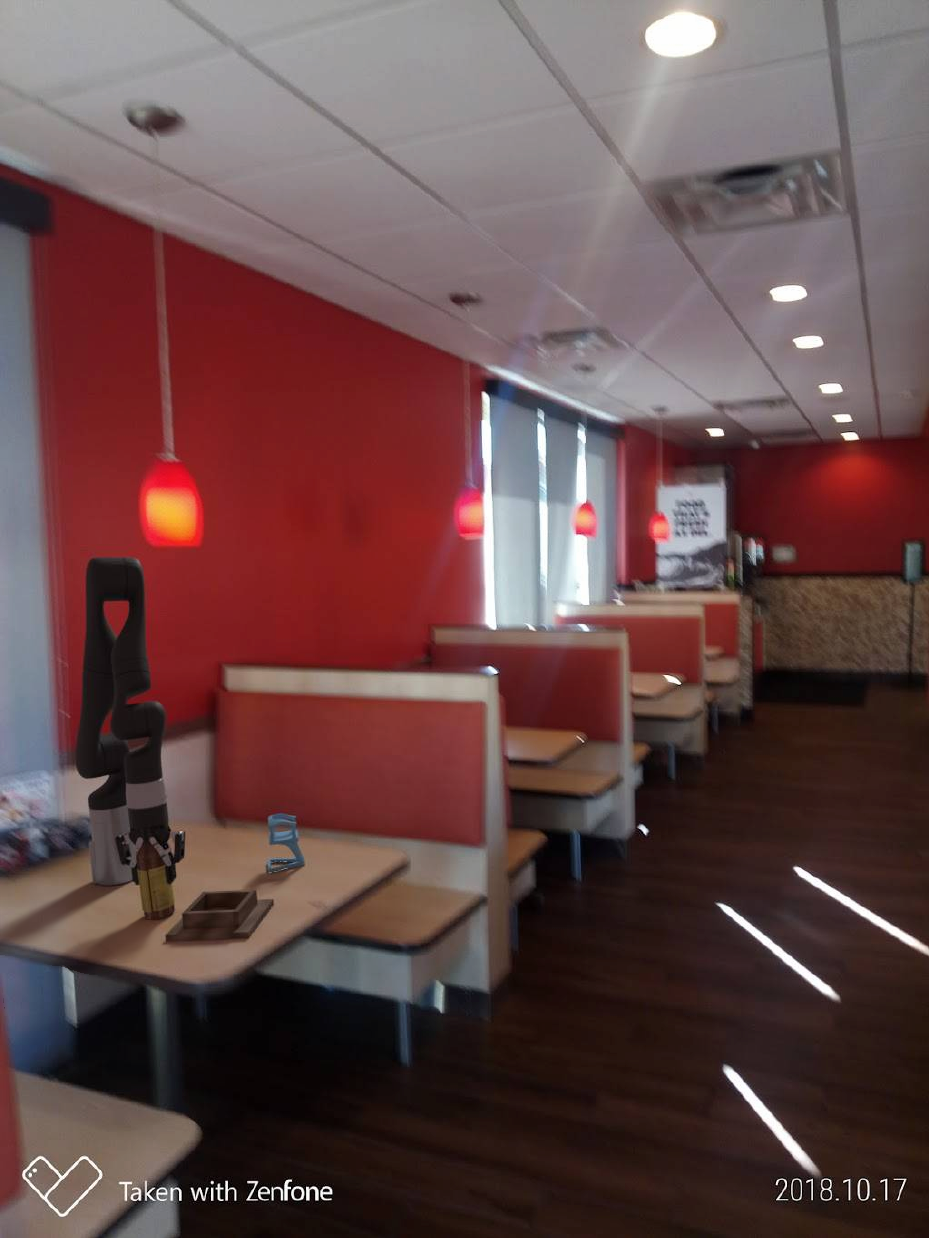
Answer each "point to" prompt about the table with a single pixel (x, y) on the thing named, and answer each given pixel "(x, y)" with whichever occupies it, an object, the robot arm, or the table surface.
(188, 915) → the bottle caddy
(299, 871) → the table surface
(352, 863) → the table surface
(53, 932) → the table surface
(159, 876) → the sauce bottle
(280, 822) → the chair
